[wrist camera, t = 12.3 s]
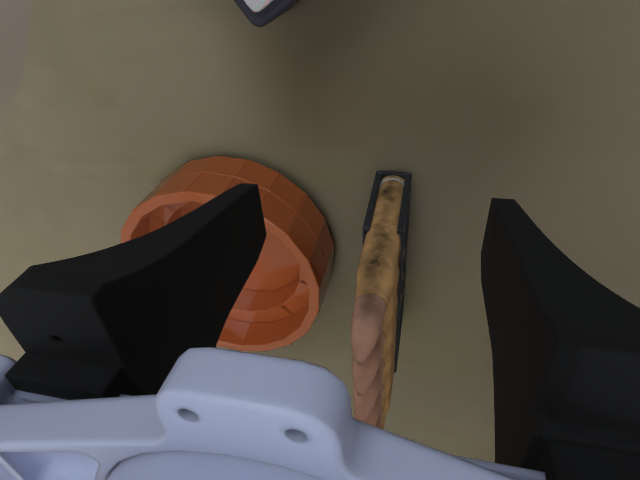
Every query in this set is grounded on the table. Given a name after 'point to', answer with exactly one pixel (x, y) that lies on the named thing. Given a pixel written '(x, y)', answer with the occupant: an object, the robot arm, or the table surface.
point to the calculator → (264, 10)
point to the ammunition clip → (380, 296)
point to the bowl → (276, 255)
